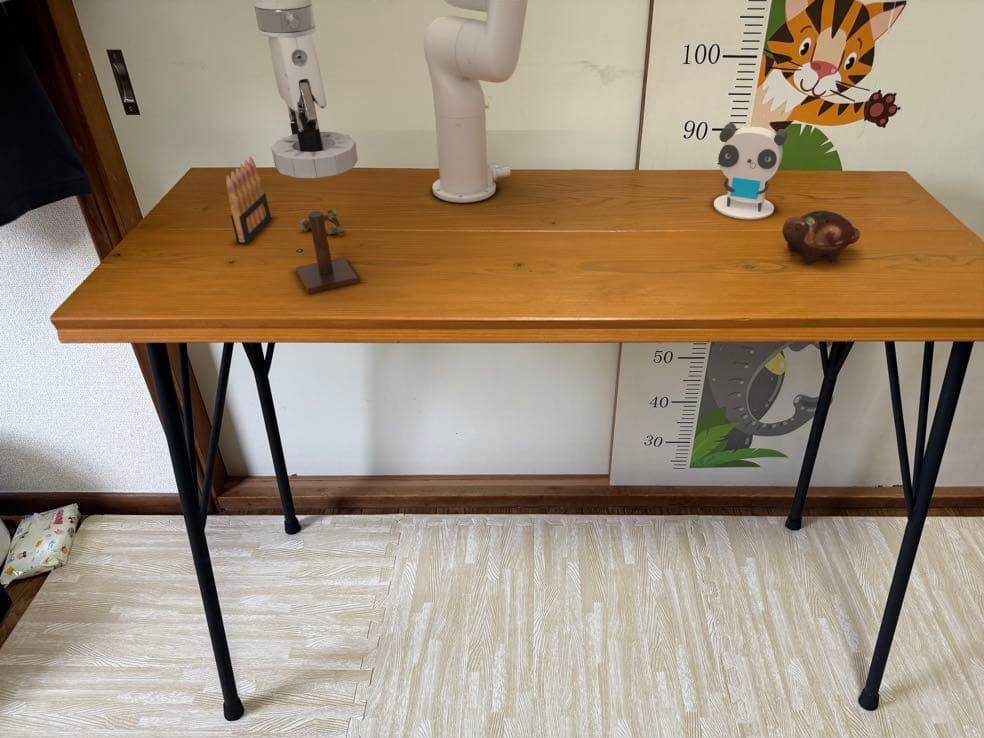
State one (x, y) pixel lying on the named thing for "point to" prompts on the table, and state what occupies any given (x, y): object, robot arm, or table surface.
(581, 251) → the table surface
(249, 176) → the ammunition clip
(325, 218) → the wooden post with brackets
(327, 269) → the stand
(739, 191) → the panda figurine
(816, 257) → the decorative turtle
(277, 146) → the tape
